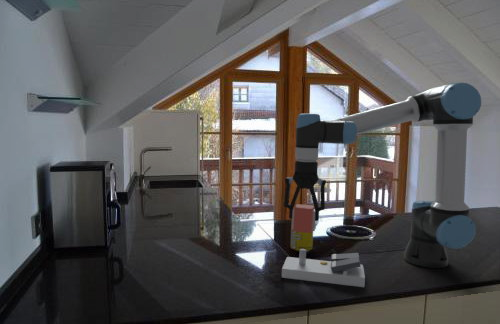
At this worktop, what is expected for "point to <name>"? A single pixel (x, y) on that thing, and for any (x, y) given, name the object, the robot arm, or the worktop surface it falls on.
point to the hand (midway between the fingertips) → (303, 229)
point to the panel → (321, 271)
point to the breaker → (345, 264)
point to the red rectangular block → (303, 218)
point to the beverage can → (301, 240)
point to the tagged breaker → (343, 256)
